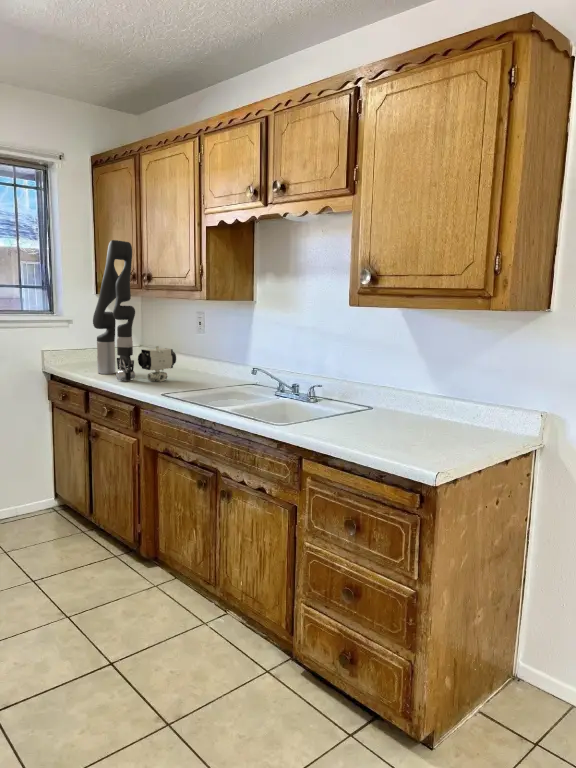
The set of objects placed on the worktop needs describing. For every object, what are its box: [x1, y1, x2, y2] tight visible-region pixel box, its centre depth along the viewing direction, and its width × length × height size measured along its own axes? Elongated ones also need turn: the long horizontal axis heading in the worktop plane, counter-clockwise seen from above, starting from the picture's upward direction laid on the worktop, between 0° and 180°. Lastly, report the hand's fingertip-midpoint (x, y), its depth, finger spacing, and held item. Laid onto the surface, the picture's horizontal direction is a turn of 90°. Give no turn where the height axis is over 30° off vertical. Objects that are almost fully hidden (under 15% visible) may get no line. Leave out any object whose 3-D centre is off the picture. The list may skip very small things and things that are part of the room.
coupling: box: [115, 369, 136, 382], centre depth 288 cm, size 5×8×5 cm
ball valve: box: [137, 345, 177, 383], centre depth 287 cm, size 18×8×18 cm, turn 132°
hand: (125, 379), depth 288 cm, fingers closed on coupling, 5 cm apart
